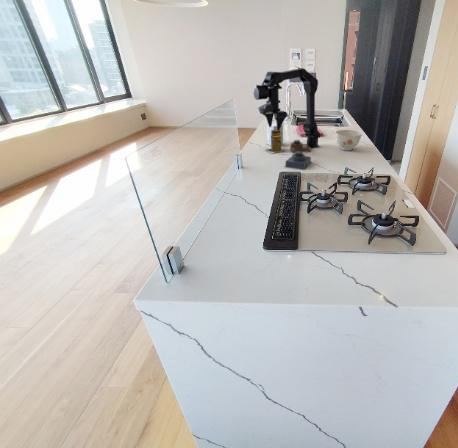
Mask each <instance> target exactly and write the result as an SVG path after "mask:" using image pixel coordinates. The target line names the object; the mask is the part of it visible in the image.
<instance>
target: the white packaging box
mask: <svg viewBox="0 0 458 448" xmlns="http://www.w3.org/2000/svg"><path fill="white" fill-rule="evenodd" d="M272 130H277V123H276V122H275V123H272V125H271V127H269V125H268V123H267V124H266V133H267V134H266V135H267V137H266V138H267V145H269V146H271V131H272ZM280 135H281V146H283V145H284V125H283V124H282V125H281V128H280Z"/></svg>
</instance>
